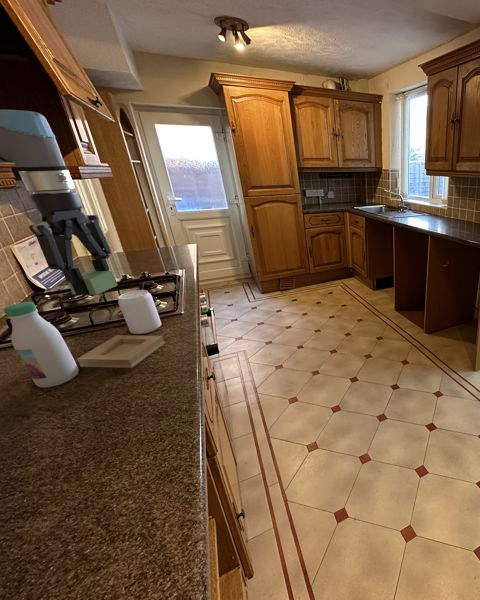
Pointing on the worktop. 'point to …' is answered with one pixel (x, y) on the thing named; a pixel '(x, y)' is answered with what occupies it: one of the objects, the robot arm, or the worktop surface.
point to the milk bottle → (40, 346)
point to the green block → (97, 281)
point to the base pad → (121, 351)
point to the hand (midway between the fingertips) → (95, 288)
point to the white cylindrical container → (139, 311)
